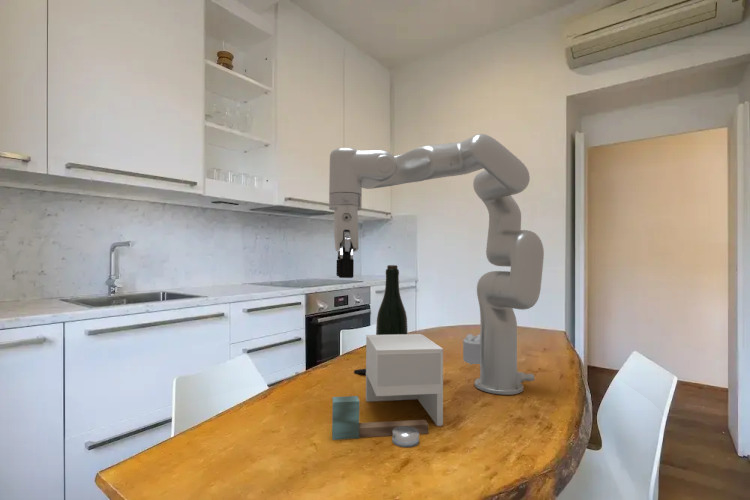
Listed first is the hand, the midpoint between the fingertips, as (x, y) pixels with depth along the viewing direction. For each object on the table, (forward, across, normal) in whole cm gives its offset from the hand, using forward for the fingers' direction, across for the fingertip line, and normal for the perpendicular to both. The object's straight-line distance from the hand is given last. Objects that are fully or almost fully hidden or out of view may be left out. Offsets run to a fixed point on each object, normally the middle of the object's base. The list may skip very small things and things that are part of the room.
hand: (344, 276), depth 89 cm
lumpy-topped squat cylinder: (+31, +40, -50) cm, 71 cm away
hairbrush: (+31, +21, -12) cm, 39 cm away
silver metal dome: (+31, -17, -11) cm, 36 cm away
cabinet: (+30, -2, -13) cm, 33 cm away
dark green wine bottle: (+31, +35, -18) cm, 50 cm away
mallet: (+30, -13, -7) cm, 34 cm away
